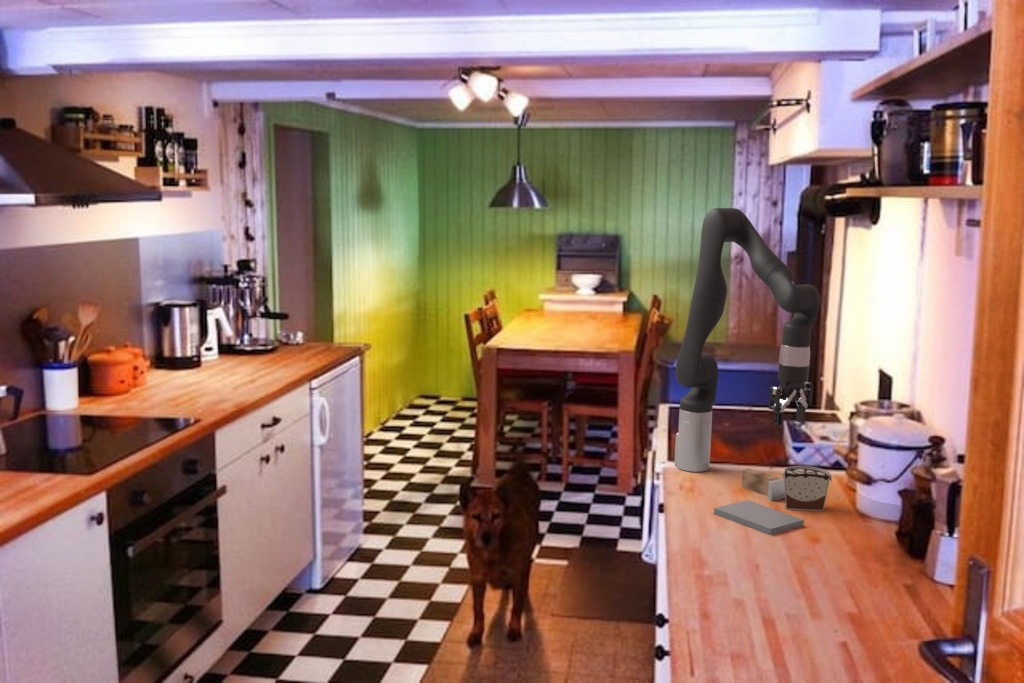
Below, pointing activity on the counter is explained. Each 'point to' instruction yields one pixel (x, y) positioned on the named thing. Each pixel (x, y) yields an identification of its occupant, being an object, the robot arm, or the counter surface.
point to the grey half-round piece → (806, 487)
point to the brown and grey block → (763, 484)
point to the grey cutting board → (759, 517)
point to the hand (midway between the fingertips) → (789, 423)
